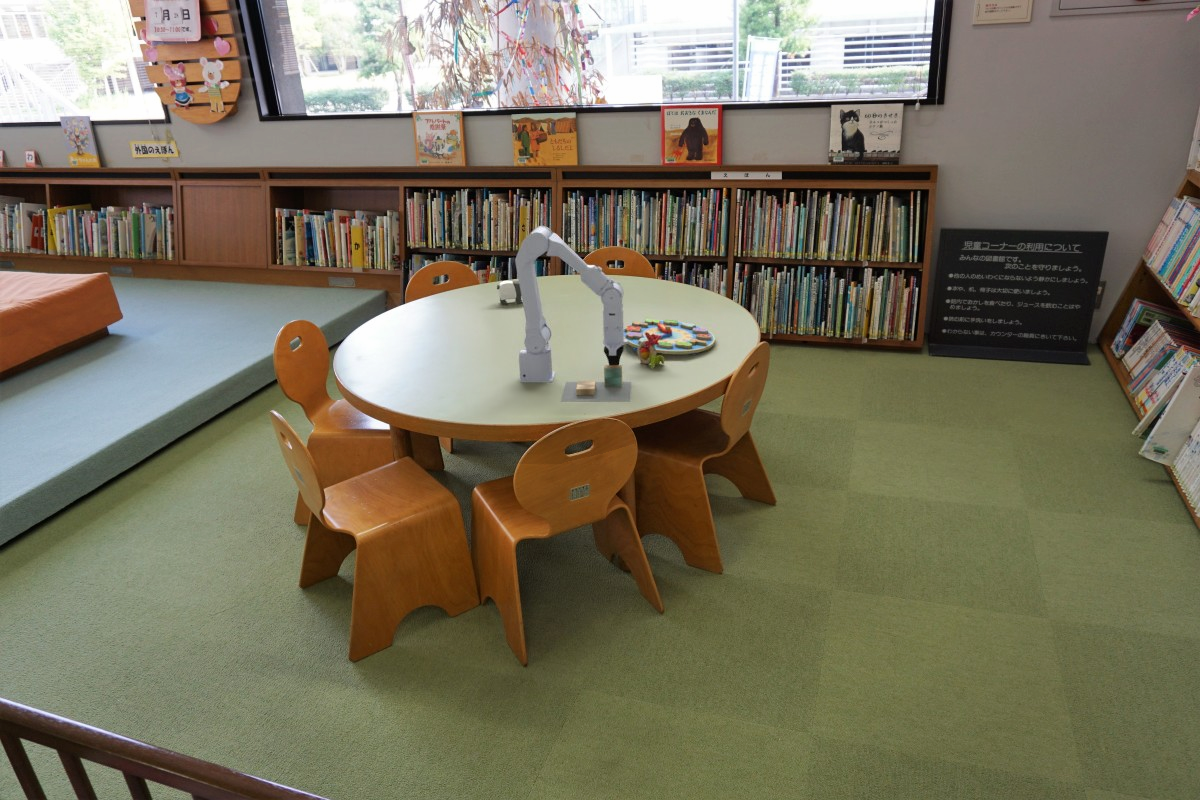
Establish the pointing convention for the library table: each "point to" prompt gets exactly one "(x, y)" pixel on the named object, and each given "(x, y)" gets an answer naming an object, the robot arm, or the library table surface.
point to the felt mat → (598, 393)
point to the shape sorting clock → (670, 336)
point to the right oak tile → (613, 375)
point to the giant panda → (509, 292)
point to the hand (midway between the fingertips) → (614, 370)
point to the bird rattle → (649, 350)
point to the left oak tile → (586, 388)
